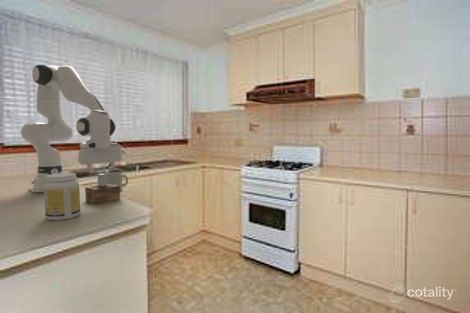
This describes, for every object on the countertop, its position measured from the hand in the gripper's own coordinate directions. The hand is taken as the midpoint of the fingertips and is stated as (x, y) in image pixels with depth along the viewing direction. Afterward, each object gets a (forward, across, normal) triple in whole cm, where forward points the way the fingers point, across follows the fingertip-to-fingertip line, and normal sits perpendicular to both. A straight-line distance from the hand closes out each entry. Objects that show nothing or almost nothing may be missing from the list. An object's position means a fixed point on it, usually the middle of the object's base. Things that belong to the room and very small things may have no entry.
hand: (101, 171), depth 141 cm
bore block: (+14, 0, +1) cm, 14 cm away
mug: (+15, -16, -13) cm, 25 cm away
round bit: (+12, 0, +1) cm, 12 cm away
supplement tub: (+14, +24, +14) cm, 31 cm away
